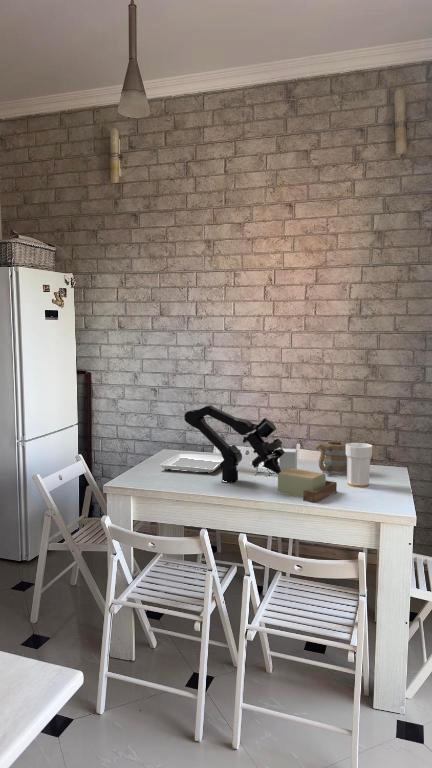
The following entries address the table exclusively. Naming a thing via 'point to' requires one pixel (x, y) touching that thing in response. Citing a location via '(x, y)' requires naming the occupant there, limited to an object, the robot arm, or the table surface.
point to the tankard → (333, 458)
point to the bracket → (320, 492)
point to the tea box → (299, 481)
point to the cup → (358, 464)
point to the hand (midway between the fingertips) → (280, 473)
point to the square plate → (169, 462)
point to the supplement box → (288, 459)
